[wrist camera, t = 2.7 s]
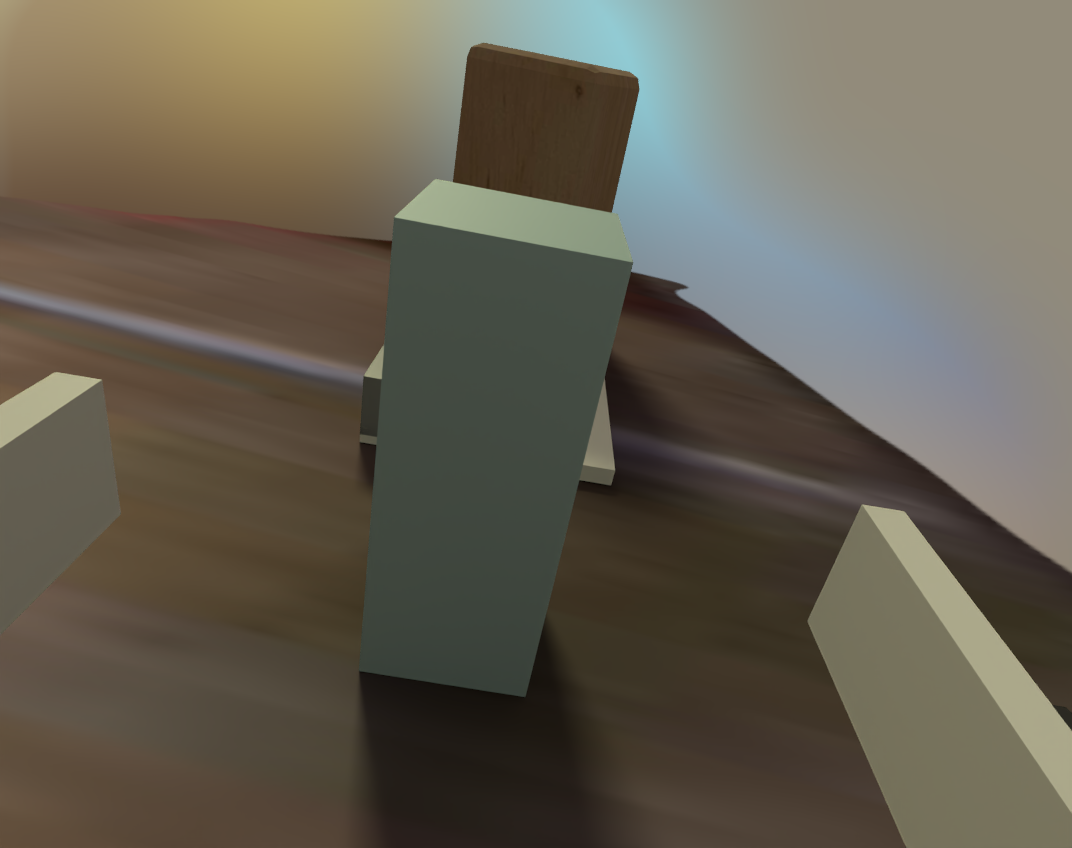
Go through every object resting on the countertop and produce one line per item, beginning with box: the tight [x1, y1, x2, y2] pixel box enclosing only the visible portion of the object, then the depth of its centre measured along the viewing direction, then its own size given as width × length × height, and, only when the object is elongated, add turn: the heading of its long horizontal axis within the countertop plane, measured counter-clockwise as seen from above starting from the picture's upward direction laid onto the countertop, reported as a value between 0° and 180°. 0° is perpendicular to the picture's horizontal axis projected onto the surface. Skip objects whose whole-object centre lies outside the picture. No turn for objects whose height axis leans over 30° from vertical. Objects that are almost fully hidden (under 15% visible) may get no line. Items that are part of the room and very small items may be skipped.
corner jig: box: [360, 345, 615, 485], centre depth 43 cm, size 14×14×4 cm
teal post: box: [359, 179, 633, 697], centre depth 23 cm, size 6×6×16 cm
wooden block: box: [453, 43, 639, 213], centre depth 53 cm, size 10×10×20 cm
